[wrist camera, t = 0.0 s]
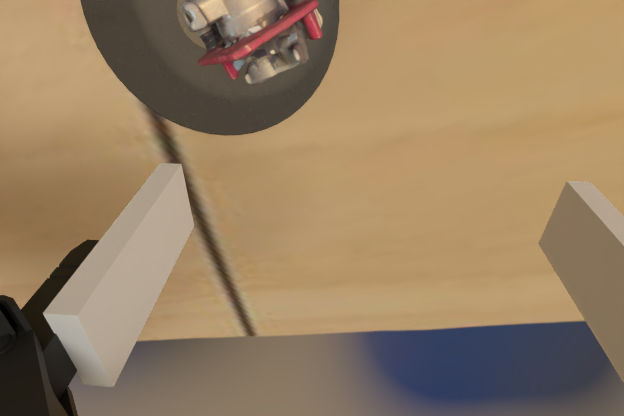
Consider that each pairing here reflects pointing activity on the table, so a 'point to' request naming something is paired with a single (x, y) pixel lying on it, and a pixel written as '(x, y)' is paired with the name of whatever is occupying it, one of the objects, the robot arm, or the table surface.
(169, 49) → the disc
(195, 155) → the table surface
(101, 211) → the table surface
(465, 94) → the table surface
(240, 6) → the brake caliper
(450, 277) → the table surface
